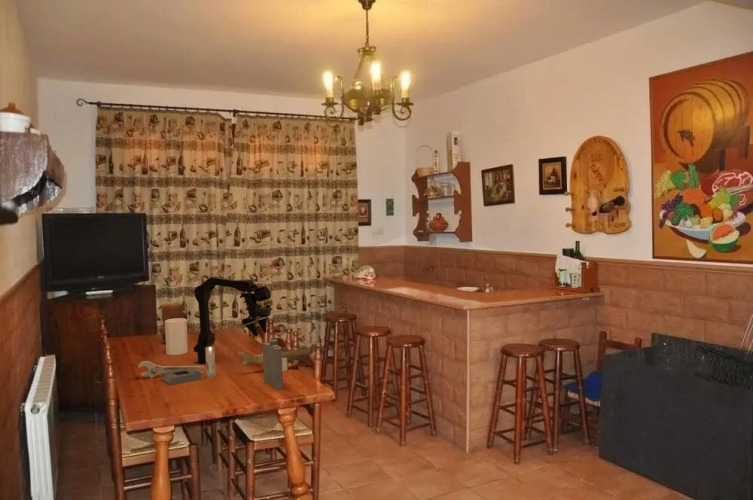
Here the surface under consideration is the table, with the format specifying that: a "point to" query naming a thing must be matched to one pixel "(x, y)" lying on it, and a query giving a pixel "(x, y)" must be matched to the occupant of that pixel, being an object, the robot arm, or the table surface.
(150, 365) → the wrench
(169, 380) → the grey square frame
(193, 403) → the table surface
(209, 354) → the pin
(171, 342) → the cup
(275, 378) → the hip flask
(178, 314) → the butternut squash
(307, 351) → the wood carving
